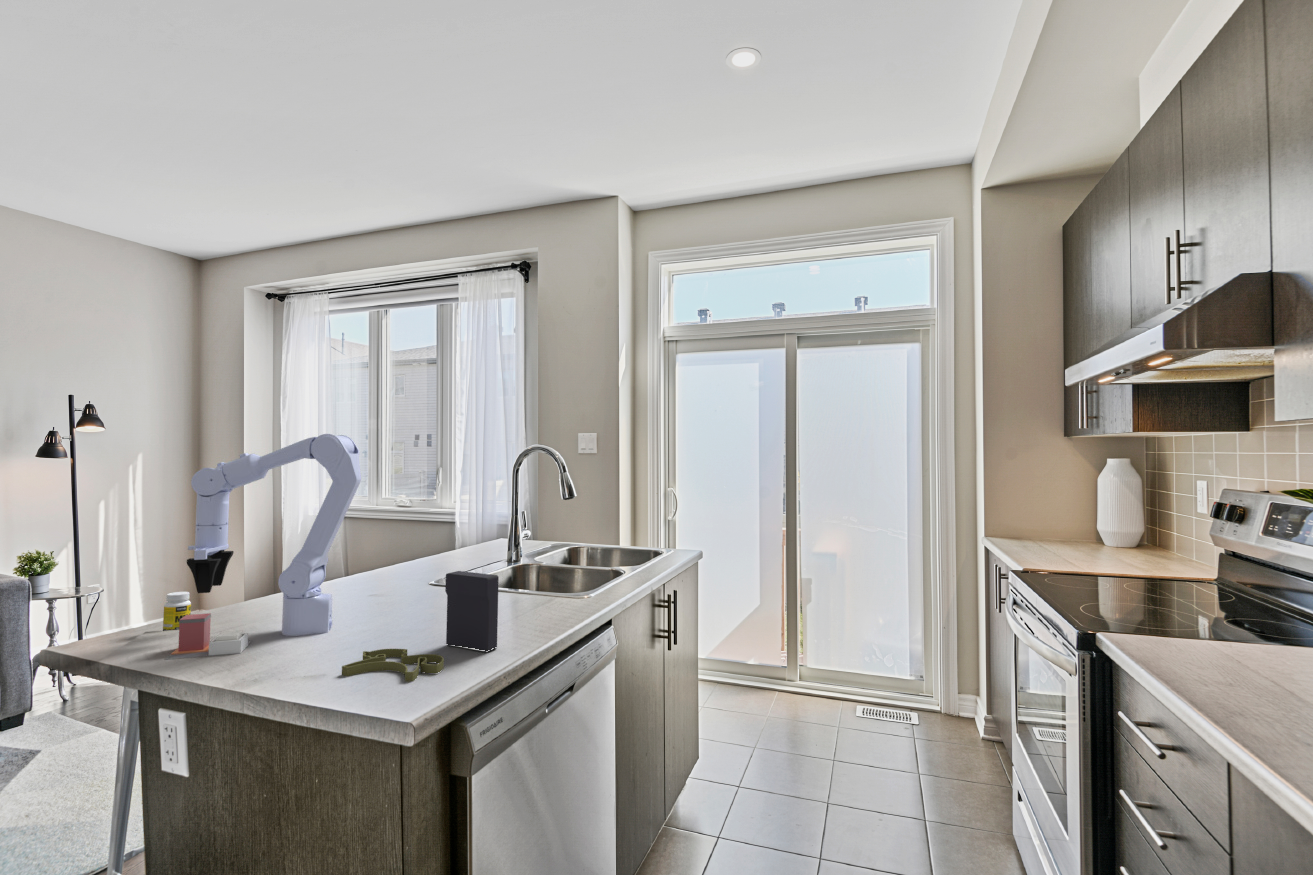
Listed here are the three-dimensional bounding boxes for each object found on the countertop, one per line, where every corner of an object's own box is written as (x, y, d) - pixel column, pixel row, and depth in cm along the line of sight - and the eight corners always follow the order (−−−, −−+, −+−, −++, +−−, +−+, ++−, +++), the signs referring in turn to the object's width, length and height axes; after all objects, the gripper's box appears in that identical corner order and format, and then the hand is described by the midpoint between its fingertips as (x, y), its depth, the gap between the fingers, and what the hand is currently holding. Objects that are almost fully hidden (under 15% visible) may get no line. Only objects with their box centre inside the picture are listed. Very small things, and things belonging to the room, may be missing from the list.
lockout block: (210, 643, 125) (211, 613, 126) (203, 649, 122) (204, 618, 122) (185, 645, 124) (186, 614, 124) (177, 651, 120) (179, 619, 120)
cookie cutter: (330, 677, 113) (331, 665, 113) (373, 656, 124) (373, 646, 124) (422, 685, 109) (422, 673, 109) (457, 663, 121) (457, 653, 121)
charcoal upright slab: (499, 648, 130) (501, 574, 130) (485, 653, 126) (487, 578, 126) (458, 641, 134) (459, 569, 135) (443, 646, 130) (445, 573, 131)
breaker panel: (252, 646, 129) (252, 628, 129) (240, 659, 120) (240, 640, 120) (181, 651, 125) (182, 633, 125) (163, 665, 116) (164, 646, 116)
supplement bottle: (175, 635, 136) (176, 596, 136) (156, 634, 137) (158, 594, 137) (195, 629, 140) (196, 591, 141) (177, 628, 141) (179, 590, 142)
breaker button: (242, 645, 124) (242, 630, 125) (237, 651, 121) (237, 635, 121) (220, 647, 123) (221, 631, 123) (214, 652, 120) (215, 636, 120)
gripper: (201, 521, 140) (198, 583, 139) (177, 528, 126) (174, 597, 126) (238, 520, 142) (236, 581, 142) (218, 527, 129) (216, 595, 128)
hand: (209, 588), depth 134 cm, fingers open, 7 cm apart
